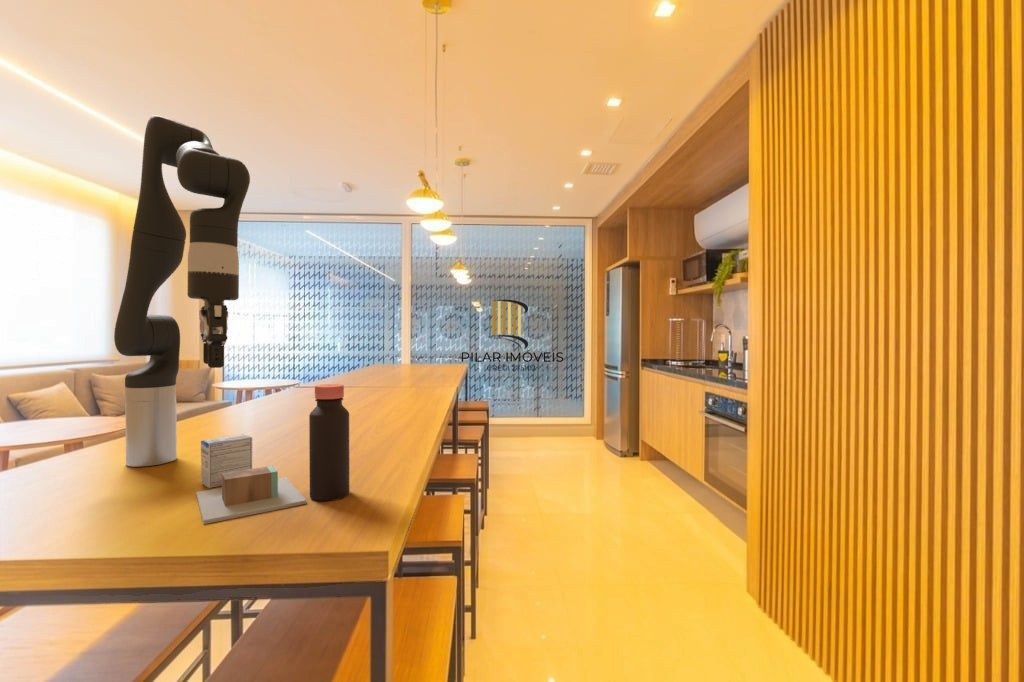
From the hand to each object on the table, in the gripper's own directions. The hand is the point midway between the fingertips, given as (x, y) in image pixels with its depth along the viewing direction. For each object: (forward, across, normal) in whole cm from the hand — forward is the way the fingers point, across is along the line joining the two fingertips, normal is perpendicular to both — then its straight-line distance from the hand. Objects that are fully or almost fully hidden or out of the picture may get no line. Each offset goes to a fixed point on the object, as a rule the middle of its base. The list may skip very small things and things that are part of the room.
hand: (213, 365), depth 83 cm
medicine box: (+24, +11, -4) cm, 27 cm away
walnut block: (+21, -4, -1) cm, 21 cm away
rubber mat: (+24, -3, -5) cm, 25 cm away
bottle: (+24, -9, -17) cm, 31 cm away
